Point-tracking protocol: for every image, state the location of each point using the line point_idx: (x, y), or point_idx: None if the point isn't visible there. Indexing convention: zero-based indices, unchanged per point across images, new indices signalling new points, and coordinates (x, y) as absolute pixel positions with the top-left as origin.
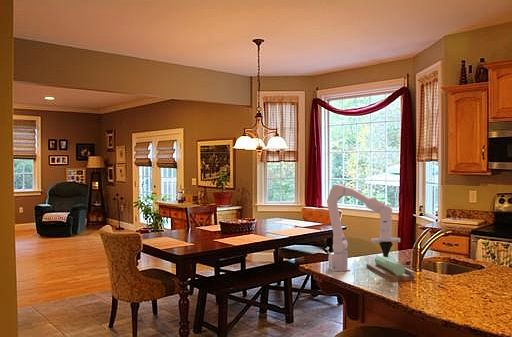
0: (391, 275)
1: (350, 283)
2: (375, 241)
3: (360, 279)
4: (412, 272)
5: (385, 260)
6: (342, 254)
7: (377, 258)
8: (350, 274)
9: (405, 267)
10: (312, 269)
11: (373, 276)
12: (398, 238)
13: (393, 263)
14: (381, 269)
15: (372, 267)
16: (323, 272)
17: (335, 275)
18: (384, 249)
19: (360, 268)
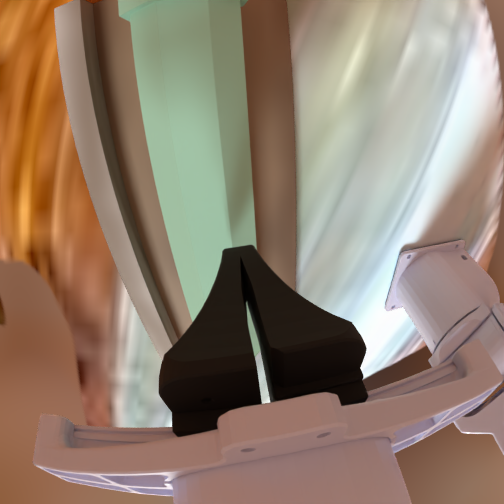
0: (254, 9)
1: (486, 29)
2: (442, 380)
3: (434, 73)
4: (72, 2)
5: (238, 244)
6: (478, 304)
7: (256, 335)
8: (433, 185)
9: (78, 151)
10: (486, 269)
11: (341, 119)
12: (55, 469)
13: (214, 64)
14: (261, 204)
15: (294, 266)
16: (488, 229)
17: (485, 177)
18: (296, 293)
19: (327, 299)
